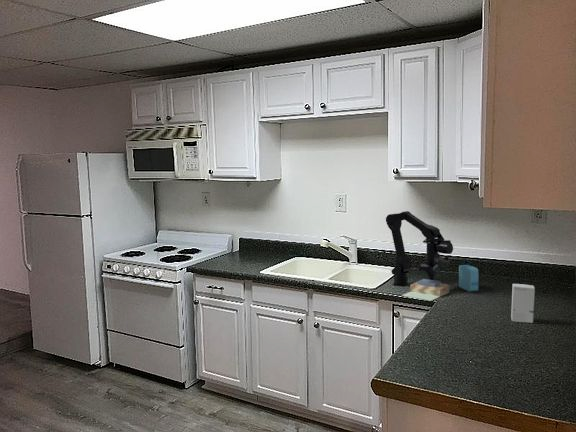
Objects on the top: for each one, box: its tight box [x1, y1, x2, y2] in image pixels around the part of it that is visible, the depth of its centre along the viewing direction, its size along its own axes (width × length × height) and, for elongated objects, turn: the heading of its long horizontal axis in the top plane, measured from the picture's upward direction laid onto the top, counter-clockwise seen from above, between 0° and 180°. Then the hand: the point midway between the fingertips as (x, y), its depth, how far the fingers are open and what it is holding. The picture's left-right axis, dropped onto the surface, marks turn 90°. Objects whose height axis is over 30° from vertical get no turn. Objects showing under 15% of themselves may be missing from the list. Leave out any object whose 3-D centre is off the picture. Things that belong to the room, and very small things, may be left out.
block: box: [417, 278, 441, 287], centre depth 252 cm, size 9×6×2 cm, turn 48°
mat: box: [401, 291, 440, 302], centre depth 245 cm, size 16×9×1 cm, turn 48°
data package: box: [458, 264, 479, 293], centre depth 256 cm, size 12×4×12 cm, turn 9°
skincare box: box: [510, 283, 536, 324], centre depth 203 cm, size 8×6×15 cm
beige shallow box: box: [409, 281, 450, 298], centre depth 252 cm, size 16×11×4 cm
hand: (432, 281), depth 254 cm, fingers closed
